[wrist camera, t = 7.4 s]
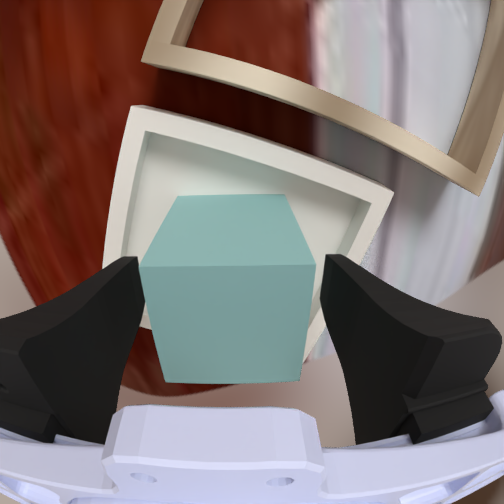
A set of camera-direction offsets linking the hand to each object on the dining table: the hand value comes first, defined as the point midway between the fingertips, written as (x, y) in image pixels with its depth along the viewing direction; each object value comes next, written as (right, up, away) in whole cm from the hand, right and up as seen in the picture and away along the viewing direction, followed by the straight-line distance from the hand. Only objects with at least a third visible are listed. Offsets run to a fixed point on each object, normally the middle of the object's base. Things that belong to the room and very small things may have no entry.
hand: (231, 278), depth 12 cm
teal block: (0, +1, +2) cm, 3 cm away
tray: (0, +1, +3) cm, 3 cm away
